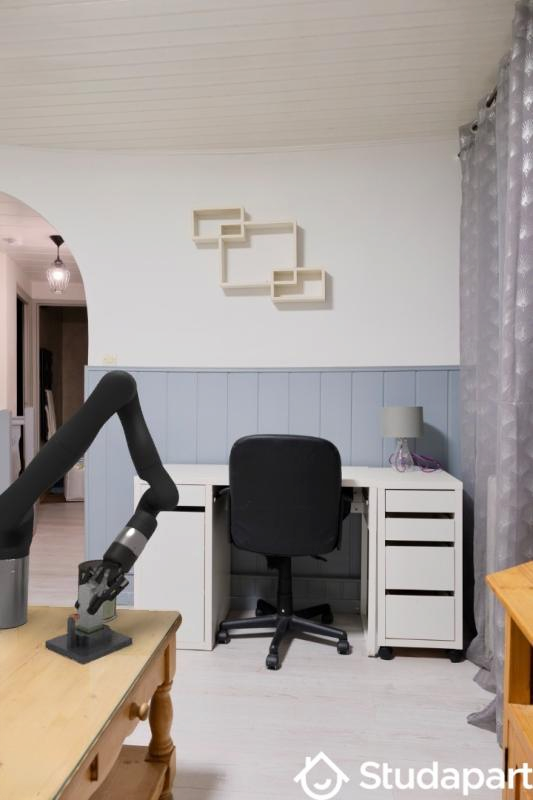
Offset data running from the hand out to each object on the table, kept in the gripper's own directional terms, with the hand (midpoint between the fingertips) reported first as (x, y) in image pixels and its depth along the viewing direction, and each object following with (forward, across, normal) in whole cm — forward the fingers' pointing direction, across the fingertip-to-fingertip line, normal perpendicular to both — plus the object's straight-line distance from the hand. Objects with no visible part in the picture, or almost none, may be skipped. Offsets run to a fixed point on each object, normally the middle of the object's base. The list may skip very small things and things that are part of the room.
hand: (83, 610), depth 134 cm
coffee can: (-4, -14, +17) cm, 22 cm away
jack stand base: (+5, 0, +8) cm, 9 cm away
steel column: (+2, 0, +5) cm, 6 cm away
